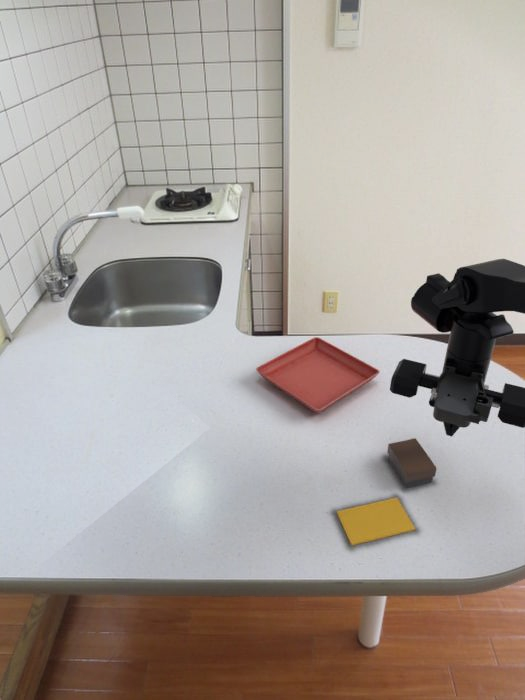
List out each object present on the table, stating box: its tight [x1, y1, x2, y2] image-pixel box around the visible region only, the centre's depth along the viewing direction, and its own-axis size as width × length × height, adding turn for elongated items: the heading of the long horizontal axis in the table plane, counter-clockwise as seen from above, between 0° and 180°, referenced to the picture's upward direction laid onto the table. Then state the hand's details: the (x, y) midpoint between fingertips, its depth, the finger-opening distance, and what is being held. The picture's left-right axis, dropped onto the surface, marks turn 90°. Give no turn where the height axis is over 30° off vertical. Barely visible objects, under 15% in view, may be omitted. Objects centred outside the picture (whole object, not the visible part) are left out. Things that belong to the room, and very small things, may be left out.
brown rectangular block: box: [386, 437, 438, 489], centre depth 86 cm, size 7×5×4 cm
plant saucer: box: [255, 336, 380, 414], centre depth 106 cm, size 18×18×3 cm
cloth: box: [336, 497, 416, 546], centre depth 79 cm, size 10×6×1 cm, turn 104°
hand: (449, 434), depth 80 cm, fingers closed
